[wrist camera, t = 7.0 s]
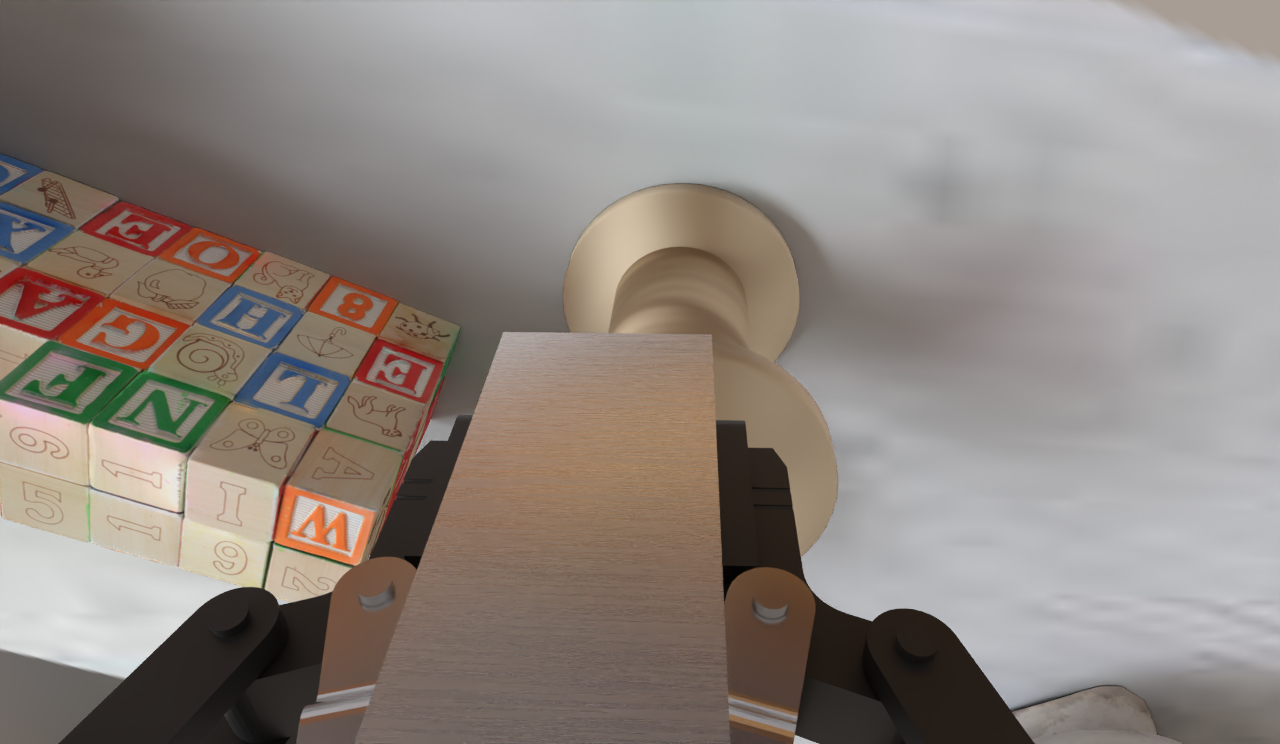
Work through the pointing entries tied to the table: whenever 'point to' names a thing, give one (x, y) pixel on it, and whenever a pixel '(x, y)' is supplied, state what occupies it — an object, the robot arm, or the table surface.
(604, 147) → the table surface
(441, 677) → the box with copper knob
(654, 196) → the bobbin
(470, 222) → the table surface
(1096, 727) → the ceramic pitcher
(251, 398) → the stack of blocks
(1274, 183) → the table surface
